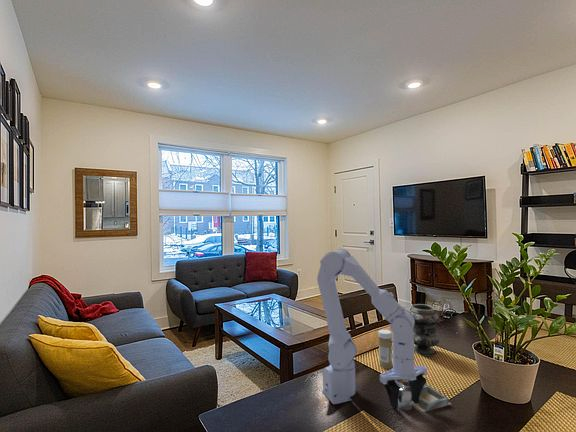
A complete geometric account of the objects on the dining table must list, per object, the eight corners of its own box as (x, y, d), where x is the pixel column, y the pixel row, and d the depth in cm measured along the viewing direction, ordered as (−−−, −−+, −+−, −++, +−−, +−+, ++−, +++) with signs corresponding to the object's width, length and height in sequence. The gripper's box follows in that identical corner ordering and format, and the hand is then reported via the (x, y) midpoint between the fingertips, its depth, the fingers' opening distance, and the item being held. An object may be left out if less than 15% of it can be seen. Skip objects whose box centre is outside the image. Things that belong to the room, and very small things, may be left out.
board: (423, 416, 86) (423, 405, 86) (386, 386, 101) (386, 377, 101) (452, 408, 89) (451, 398, 89) (412, 381, 104) (412, 372, 104)
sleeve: (403, 416, 86) (402, 394, 86) (392, 407, 90) (391, 386, 90) (416, 413, 87) (416, 391, 87) (405, 404, 92) (405, 383, 92)
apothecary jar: (442, 359, 119) (441, 312, 119) (408, 356, 123) (407, 309, 123) (437, 347, 131) (436, 303, 131) (406, 344, 134) (405, 301, 135)
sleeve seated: (407, 391, 96) (406, 371, 96) (397, 384, 100) (396, 365, 100) (419, 388, 97) (418, 368, 97) (409, 381, 102) (408, 362, 102)
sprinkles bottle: (395, 369, 112) (394, 331, 112) (386, 373, 110) (386, 334, 110) (384, 365, 116) (384, 328, 116) (376, 368, 113) (375, 330, 113)
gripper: (390, 366, 83) (391, 418, 82) (434, 357, 87) (435, 406, 87) (374, 355, 89) (375, 403, 89) (416, 347, 94) (417, 393, 94)
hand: (404, 404), depth 89 cm, fingers open, 6 cm apart
